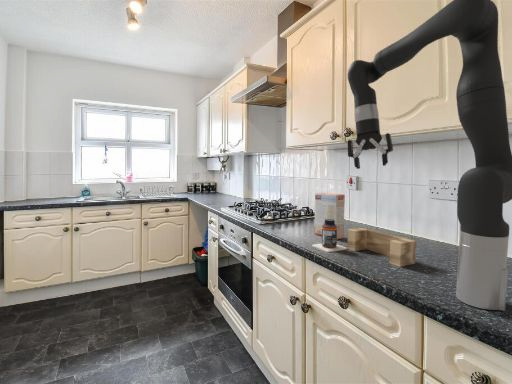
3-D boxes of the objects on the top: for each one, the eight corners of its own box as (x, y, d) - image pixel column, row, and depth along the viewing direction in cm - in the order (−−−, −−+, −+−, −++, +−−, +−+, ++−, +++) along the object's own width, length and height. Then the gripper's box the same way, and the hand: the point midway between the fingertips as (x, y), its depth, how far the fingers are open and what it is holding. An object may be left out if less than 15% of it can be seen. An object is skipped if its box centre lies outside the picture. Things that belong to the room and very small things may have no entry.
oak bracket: (399, 266, 94) (400, 243, 93) (347, 248, 116) (348, 229, 115) (415, 263, 98) (416, 240, 97) (361, 246, 119) (362, 227, 118)
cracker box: (344, 238, 132) (345, 194, 130) (335, 240, 129) (336, 194, 127) (322, 232, 144) (323, 192, 142) (313, 234, 141) (314, 192, 139)
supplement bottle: (325, 243, 121) (326, 217, 120) (338, 246, 117) (339, 219, 116) (319, 246, 116) (319, 219, 115) (332, 249, 112) (333, 221, 111)
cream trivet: (346, 249, 114) (347, 247, 114) (327, 252, 110) (327, 251, 110) (330, 243, 123) (330, 242, 123) (311, 246, 119) (311, 244, 119)
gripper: (391, 117, 96) (395, 164, 96) (349, 125, 104) (353, 169, 104) (387, 113, 90) (391, 164, 90) (343, 122, 98) (347, 169, 98)
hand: (371, 167), depth 97 cm, fingers open, 8 cm apart
